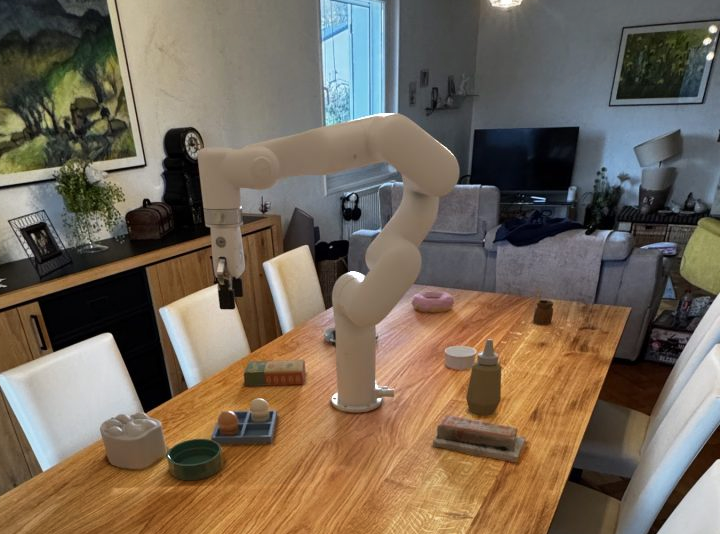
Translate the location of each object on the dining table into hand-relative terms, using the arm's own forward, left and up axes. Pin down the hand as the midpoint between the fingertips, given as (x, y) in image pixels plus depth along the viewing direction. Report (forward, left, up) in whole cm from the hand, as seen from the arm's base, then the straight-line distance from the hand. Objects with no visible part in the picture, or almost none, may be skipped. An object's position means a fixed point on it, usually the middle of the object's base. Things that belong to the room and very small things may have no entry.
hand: (232, 302), depth 124 cm
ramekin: (-57, -31, -28) cm, 70 cm away
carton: (-5, -24, -28) cm, 37 cm away
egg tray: (-1, +6, -28) cm, 29 cm away
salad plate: (-26, -56, -28) cm, 67 cm away
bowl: (+7, +22, -28) cm, 37 cm away
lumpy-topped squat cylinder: (+22, +16, -28) cm, 40 cm away
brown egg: (+2, +10, -28) cm, 29 cm away
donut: (-57, -87, -28) cm, 107 cm away
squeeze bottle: (-57, -1, -28) cm, 63 cm away
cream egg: (-4, +3, -28) cm, 28 cm away
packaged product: (-53, +15, -28) cm, 62 cm away
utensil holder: (-91, -67, -28) cm, 116 cm away
